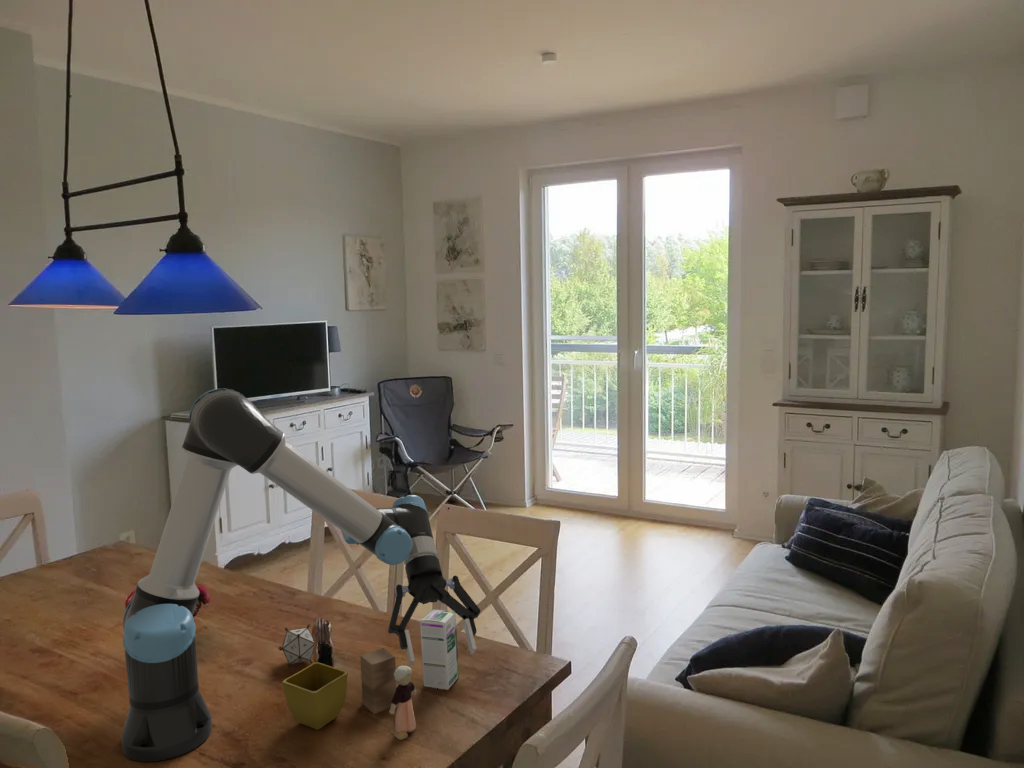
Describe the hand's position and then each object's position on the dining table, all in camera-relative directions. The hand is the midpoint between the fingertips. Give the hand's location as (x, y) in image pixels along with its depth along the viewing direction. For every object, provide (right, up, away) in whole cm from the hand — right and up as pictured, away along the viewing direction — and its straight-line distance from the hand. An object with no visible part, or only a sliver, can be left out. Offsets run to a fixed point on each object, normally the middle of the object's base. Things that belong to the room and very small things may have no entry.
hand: (443, 657), depth 156 cm
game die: (-33, -6, +13) cm, 36 cm away
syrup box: (-1, -6, +3) cm, 7 cm away
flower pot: (-23, -9, -11) cm, 27 cm away
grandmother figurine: (-6, -9, -15) cm, 18 cm away
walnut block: (-12, -7, -5) cm, 15 cm away
